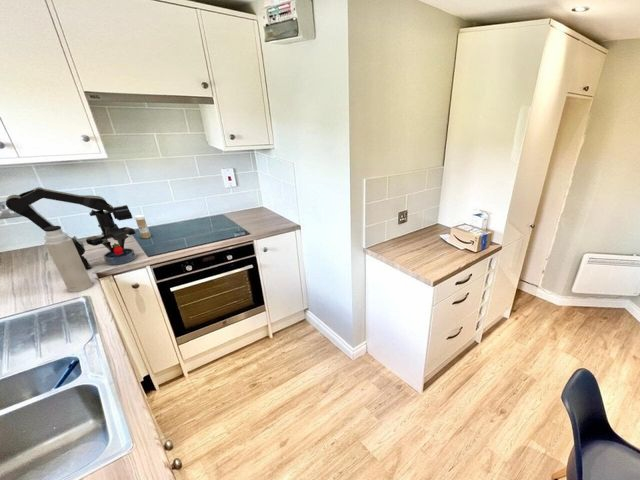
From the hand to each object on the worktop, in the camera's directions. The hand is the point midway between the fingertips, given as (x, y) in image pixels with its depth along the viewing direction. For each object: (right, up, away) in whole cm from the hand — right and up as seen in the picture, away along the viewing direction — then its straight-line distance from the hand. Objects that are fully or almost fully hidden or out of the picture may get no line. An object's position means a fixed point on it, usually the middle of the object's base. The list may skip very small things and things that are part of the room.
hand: (118, 251), depth 163 cm
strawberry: (0, -1, +1) cm, 1 cm away
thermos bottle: (+3, -17, -22) cm, 28 cm away
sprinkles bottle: (-9, +10, +30) cm, 32 cm away
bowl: (0, -4, +2) cm, 5 cm away
